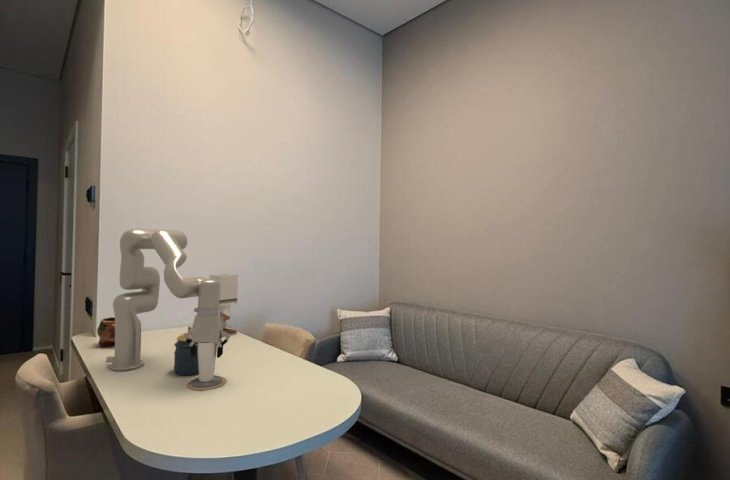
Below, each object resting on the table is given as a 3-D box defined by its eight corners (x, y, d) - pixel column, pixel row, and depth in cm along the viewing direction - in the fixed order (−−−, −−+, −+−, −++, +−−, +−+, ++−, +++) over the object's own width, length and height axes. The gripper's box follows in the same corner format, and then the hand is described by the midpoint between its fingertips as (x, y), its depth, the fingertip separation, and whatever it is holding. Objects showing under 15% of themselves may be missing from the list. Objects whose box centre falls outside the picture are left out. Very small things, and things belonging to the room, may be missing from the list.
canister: (173, 378, 149) (174, 333, 149) (173, 368, 161) (174, 327, 161) (209, 373, 155) (210, 330, 155) (206, 364, 167) (207, 324, 167)
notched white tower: (219, 337, 214) (221, 275, 214) (208, 335, 220) (209, 274, 220) (236, 333, 223) (237, 274, 224) (225, 331, 229) (226, 273, 230)
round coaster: (180, 390, 137) (180, 387, 137) (196, 376, 151) (196, 373, 151) (219, 390, 137) (219, 387, 137) (231, 377, 151) (231, 374, 151)
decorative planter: (131, 347, 191) (132, 319, 192) (103, 352, 182) (104, 323, 182) (118, 340, 204) (119, 314, 204) (91, 344, 195) (92, 317, 195)
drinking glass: (208, 384, 140) (209, 343, 140) (192, 382, 142) (193, 342, 142) (219, 377, 147) (220, 339, 147) (204, 376, 148) (205, 338, 148)
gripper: (181, 312, 141) (179, 358, 141) (227, 314, 141) (226, 360, 141) (189, 309, 148) (187, 352, 148) (234, 310, 149) (232, 354, 149)
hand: (206, 356), depth 145 cm, fingers open, 9 cm apart
